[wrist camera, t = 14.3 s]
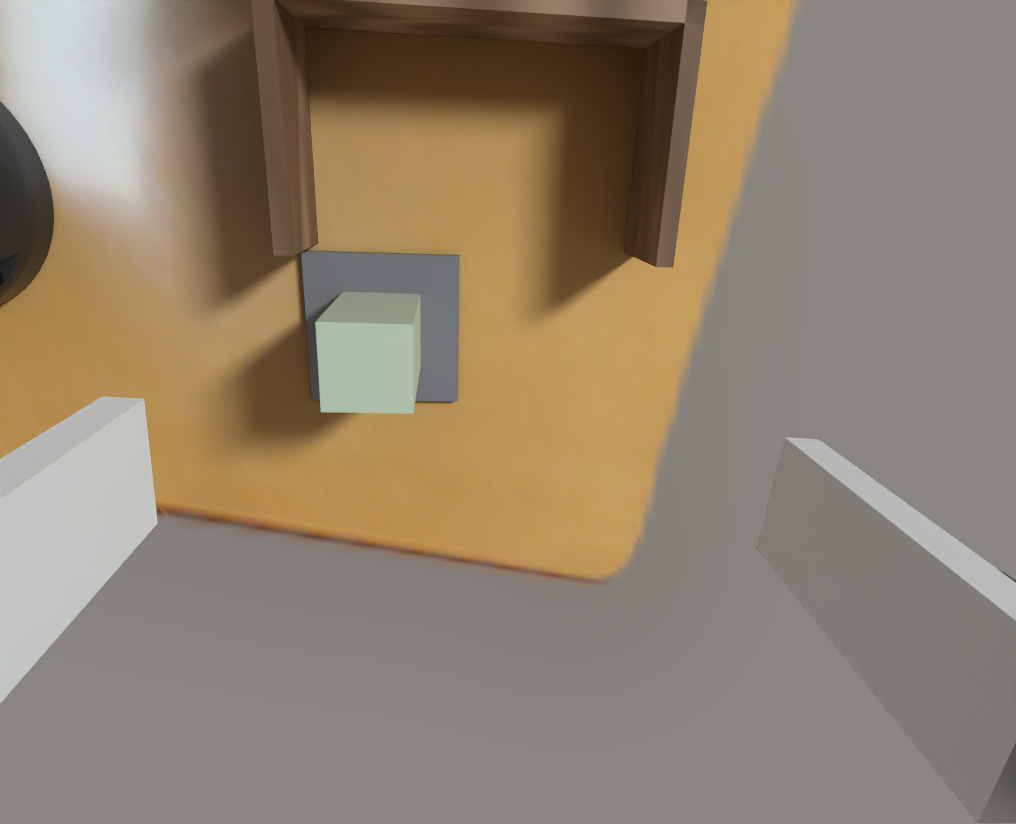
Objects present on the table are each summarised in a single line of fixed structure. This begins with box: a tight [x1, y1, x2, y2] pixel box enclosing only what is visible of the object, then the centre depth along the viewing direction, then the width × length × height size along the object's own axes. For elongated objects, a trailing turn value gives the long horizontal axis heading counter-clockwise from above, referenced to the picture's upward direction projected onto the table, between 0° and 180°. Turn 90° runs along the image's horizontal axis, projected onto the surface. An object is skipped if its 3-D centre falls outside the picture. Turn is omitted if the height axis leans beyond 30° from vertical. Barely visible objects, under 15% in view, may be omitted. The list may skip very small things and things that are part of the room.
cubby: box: [251, 0, 707, 267], centre depth 36 cm, size 22×13×7 cm, turn 88°
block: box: [315, 292, 421, 413], centre depth 38 cm, size 5×5×9 cm
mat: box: [301, 251, 459, 401], centre depth 43 cm, size 10×10×1 cm
